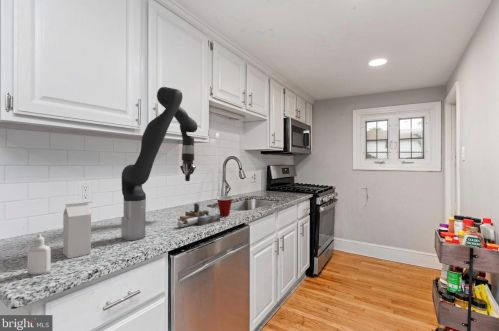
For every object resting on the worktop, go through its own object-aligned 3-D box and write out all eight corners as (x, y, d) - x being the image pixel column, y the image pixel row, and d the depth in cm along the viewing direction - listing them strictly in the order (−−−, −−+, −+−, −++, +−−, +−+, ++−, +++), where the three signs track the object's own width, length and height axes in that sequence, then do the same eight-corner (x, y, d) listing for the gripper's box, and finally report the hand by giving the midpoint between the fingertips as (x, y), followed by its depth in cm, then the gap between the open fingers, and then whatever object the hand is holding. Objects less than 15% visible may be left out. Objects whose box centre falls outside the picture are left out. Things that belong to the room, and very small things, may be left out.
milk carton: (90, 253, 95) (91, 203, 94) (68, 259, 89) (68, 205, 89) (85, 249, 99) (85, 201, 99) (62, 254, 94) (63, 203, 94)
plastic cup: (212, 216, 163) (213, 197, 163) (221, 213, 173) (221, 195, 173) (227, 217, 159) (228, 198, 159) (235, 214, 169) (235, 196, 169)
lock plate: (202, 225, 139) (202, 214, 139) (178, 219, 152) (178, 209, 152) (220, 221, 150) (220, 210, 150) (196, 215, 163) (197, 206, 163)
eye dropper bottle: (36, 277, 75) (36, 237, 75) (25, 273, 78) (25, 234, 77) (52, 271, 79) (52, 233, 79) (41, 268, 82) (42, 231, 81)
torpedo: (181, 228, 131) (181, 216, 130) (175, 227, 133) (175, 214, 133) (205, 222, 146) (205, 210, 145) (199, 221, 148) (200, 209, 148)
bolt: (203, 218, 147) (203, 205, 147) (192, 215, 153) (193, 203, 153) (207, 217, 149) (207, 205, 149) (196, 215, 155) (197, 203, 155)
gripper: (176, 152, 158) (175, 180, 158) (189, 152, 150) (189, 181, 150) (186, 153, 164) (185, 180, 164) (199, 153, 156) (199, 181, 156)
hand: (187, 180), depth 157 cm, fingers closed
